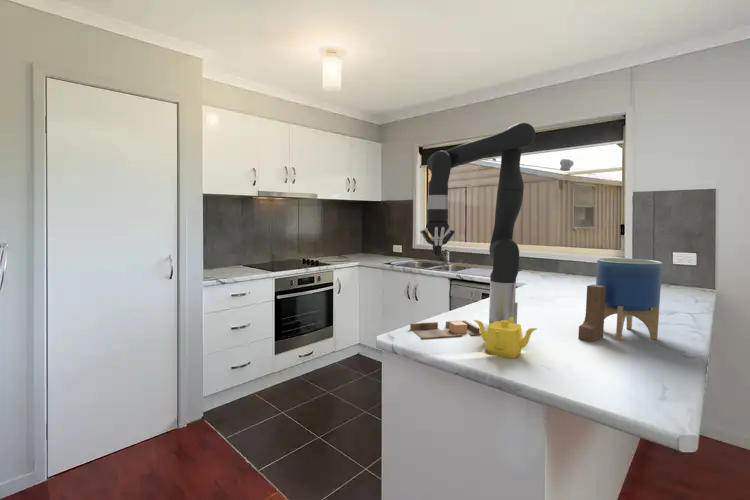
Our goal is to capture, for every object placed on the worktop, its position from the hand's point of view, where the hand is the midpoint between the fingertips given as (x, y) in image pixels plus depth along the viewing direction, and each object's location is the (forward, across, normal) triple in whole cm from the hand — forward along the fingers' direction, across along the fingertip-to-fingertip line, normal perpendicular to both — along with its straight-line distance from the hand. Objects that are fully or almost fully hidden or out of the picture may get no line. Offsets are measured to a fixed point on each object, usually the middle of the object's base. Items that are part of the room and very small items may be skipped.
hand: (436, 256), depth 142 cm
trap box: (+27, +1, +10) cm, 29 cm away
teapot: (+27, -11, +28) cm, 40 cm away
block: (+26, -4, +10) cm, 28 cm away
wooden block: (+27, -48, +22) cm, 59 cm away
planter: (+27, -64, +20) cm, 72 cm away
